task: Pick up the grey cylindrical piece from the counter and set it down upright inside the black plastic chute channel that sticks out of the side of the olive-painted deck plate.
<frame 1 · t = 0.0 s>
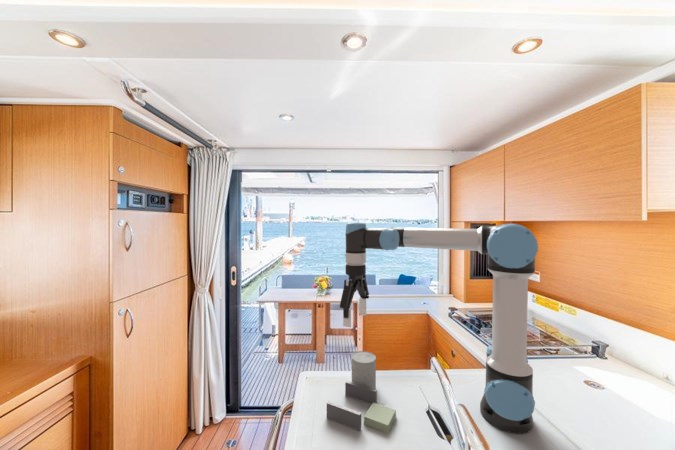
hand: (355, 320, 106), 28 cm above the table, fingers open, 13 cm apart
deck: (380, 420, 93), on the table
grey cylindrical piece: (363, 388, 111), on the table
chute: (352, 410, 98), on the table
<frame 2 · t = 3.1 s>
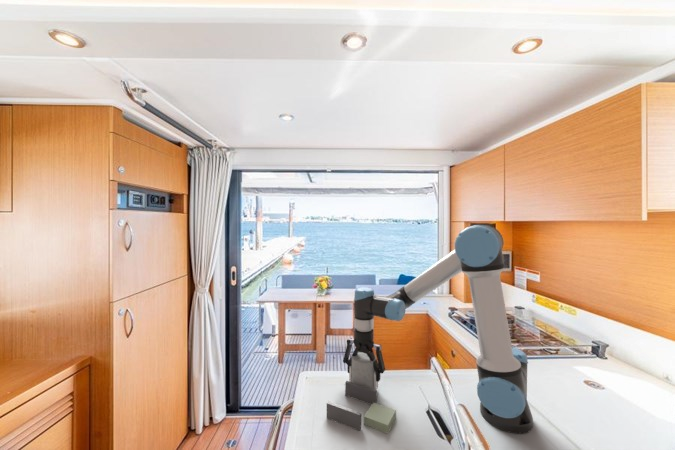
hand: (363, 384, 111), 1 cm above the table, fingers closed on grey cylindrical piece, 9 cm apart
grey cylindrical piece: (363, 388, 111), on the table, touching gripper
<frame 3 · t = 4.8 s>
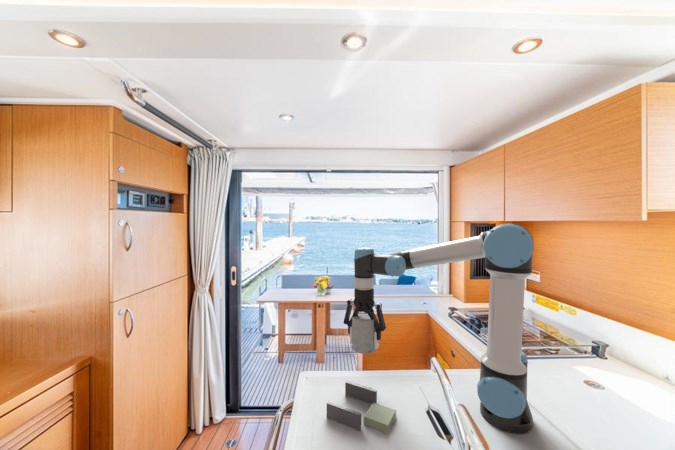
hand: (364, 345, 110), 17 cm above the table, fingers closed on grey cylindrical piece, 9 cm apart
grey cylindrical piece: (364, 348, 110), point 16 cm above the table, touching gripper
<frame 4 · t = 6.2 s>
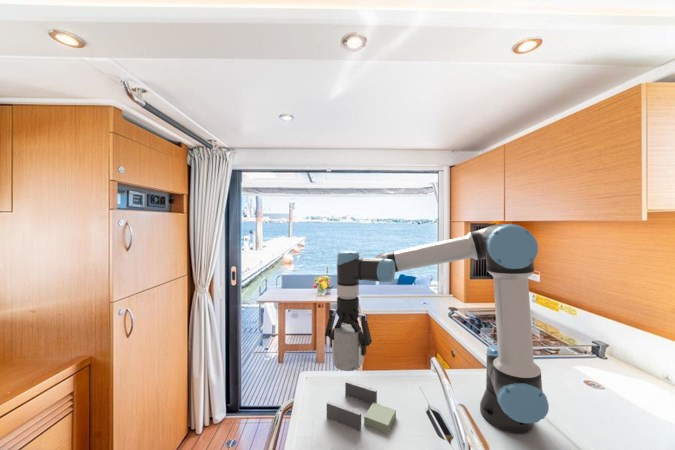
hand: (347, 360, 98), 17 cm above the table, fingers closed on grey cylindrical piece, 9 cm apart
grey cylindrical piece: (347, 364, 98), point 16 cm above the table, touching gripper
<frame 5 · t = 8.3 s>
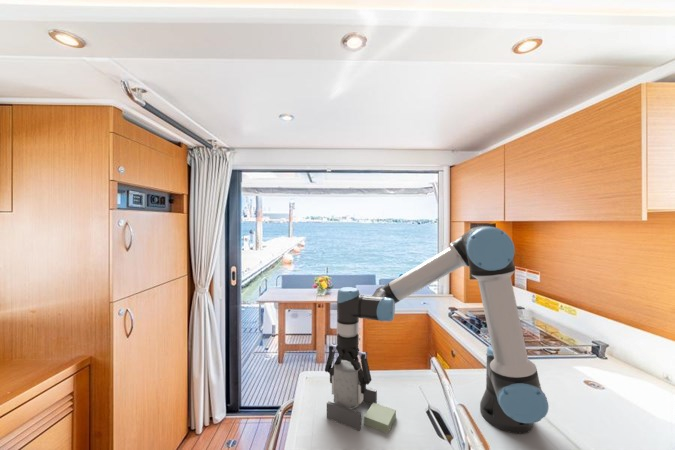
hand: (347, 396, 99), 4 cm above the table, fingers closed on grey cylindrical piece, 9 cm apart
grey cylindrical piece: (347, 400, 99), point 3 cm above the table, touching gripper
when the fingers open (3 cm above the table, at t = 9.6 s): grey cylindrical piece drops 2 cm, on the table.
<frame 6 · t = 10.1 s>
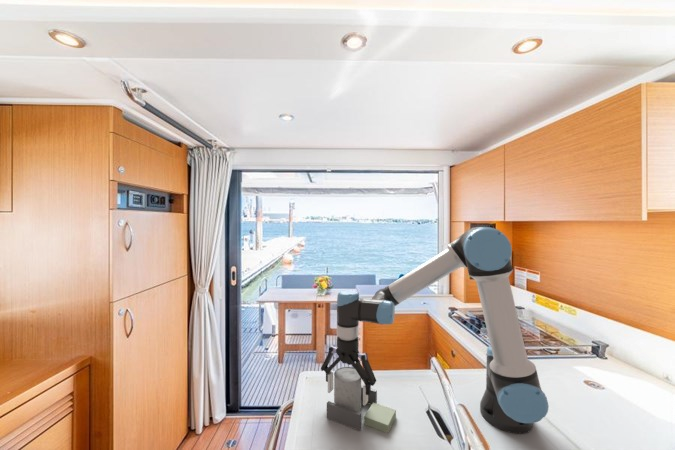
hand: (347, 396, 99), 4 cm above the table, fingers open, 13 cm apart
grey cylindrical piece: (347, 409, 99), on the table
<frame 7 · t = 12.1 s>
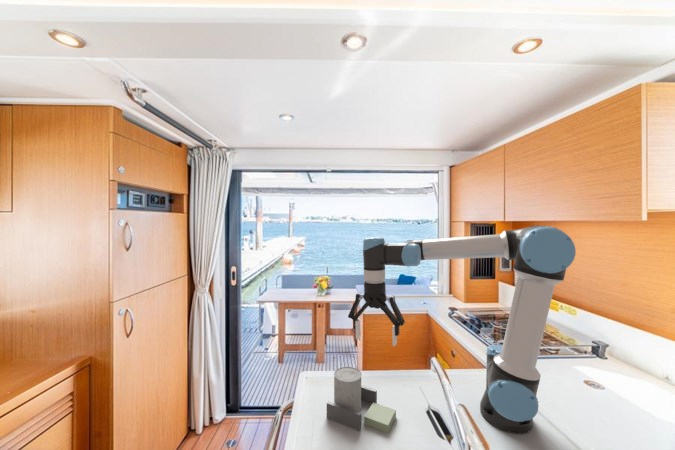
hand: (375, 341, 100), 23 cm above the table, fingers open, 13 cm apart
nothing on the table moved.
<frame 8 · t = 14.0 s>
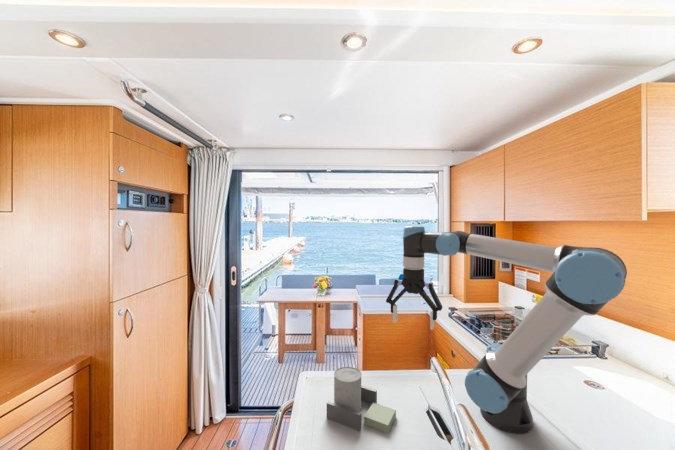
hand: (413, 325, 105), 27 cm above the table, fingers open, 13 cm apart
nothing on the table moved.
at the end: grey cylindrical piece inside the target area (0.9 cm from its centre), on the table; grey cylindrical piece tilted 0°; the gripper is holding nothing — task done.
